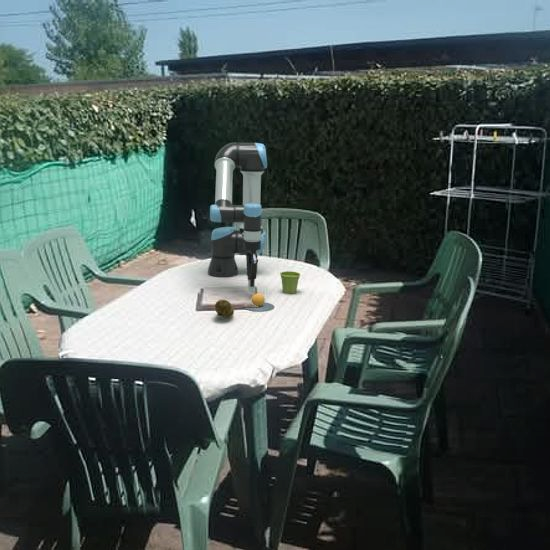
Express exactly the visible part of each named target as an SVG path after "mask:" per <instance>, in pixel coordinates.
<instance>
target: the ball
mask: <svg viewBox="0 0 550 550" xmlns="http://www.w3.org/2000/svg"><path fill="white" fill-rule="evenodd" d="M251 302H252V303H253V304H254V305H256V306H262V305H263V304H264V302H266V299H265V296H264V295H263V294H262V293H255V294H253V295H252V297H251Z"/></svg>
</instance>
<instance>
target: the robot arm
mask: <svg viewBox="0 0 550 550" xmlns="http://www.w3.org/2000/svg"><path fill="white" fill-rule="evenodd" d="M235 168H239V171H240V173H241V174H242V176H243V178H242V182H243V183H242V205H240V204H239V205H238V204H235V205H234V204H233V174H234V173H233V172H234V170H235ZM267 168H268V159H267V149H266V146H265V145H264V143H259V142H236V141H235V142H230V143H227V144H225V145H224V146H222V148H221V149H219V151H218V152H217V153H216V156H215V158H214V169H215V170H216V173H215V174H216V176H215V197H214V201H215V202H214V204H211V205H210V206H209V220H210V221H211V222H213V223H239V224H240V223H241V225H239V228H238V229H237V230H236V228H235V226H222V227H218V228H214V229H213V230H212V232H211V238H210V241H211V257H210V262H209V265H208V268H207V274H208V275H209V276H212V277H217V278H229V277H230V278H231V277H236V276H237V275H238V274H239V268H238V265H237V262H236V257H235V255H236V254H243V255H245V258H246V277H247V294H249V295H251V294H253V295H254V293H255V294H256V290H255V289H256V288H255V287H256V280H257V274H258V273H257V272H258V263H259V258H258V255H260V254H261V253H263V251H264V248H265V247H264V246H265V242H266V234H267V233H266V231H265V230H264V227H263V226H262V213H263V211H262V205H261V184H262V175H263V174H264V173H265V169H267Z"/></svg>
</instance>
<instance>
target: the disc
mask: <svg viewBox="0 0 550 550" xmlns="http://www.w3.org/2000/svg"><path fill="white" fill-rule="evenodd" d="M243 309H244V310H247V311H250V312H257V313H260V312H261V313H263V312H269V311H272V310H274V309H275V305H274V304H272V303H269V302H266V301H265V302H264V304H263V305H262V306H258V307H257V308H243Z"/></svg>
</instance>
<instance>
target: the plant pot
mask: <svg viewBox="0 0 550 550" xmlns="http://www.w3.org/2000/svg"><path fill="white" fill-rule="evenodd" d="M279 275H280V279H281V285H282V293H284V294H289V295H292V294H297V288H298V283H299V279H300V278H301V273H300V272H297V271H291V270H290V271H289V270H288V271H281V272H280V273H279Z"/></svg>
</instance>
